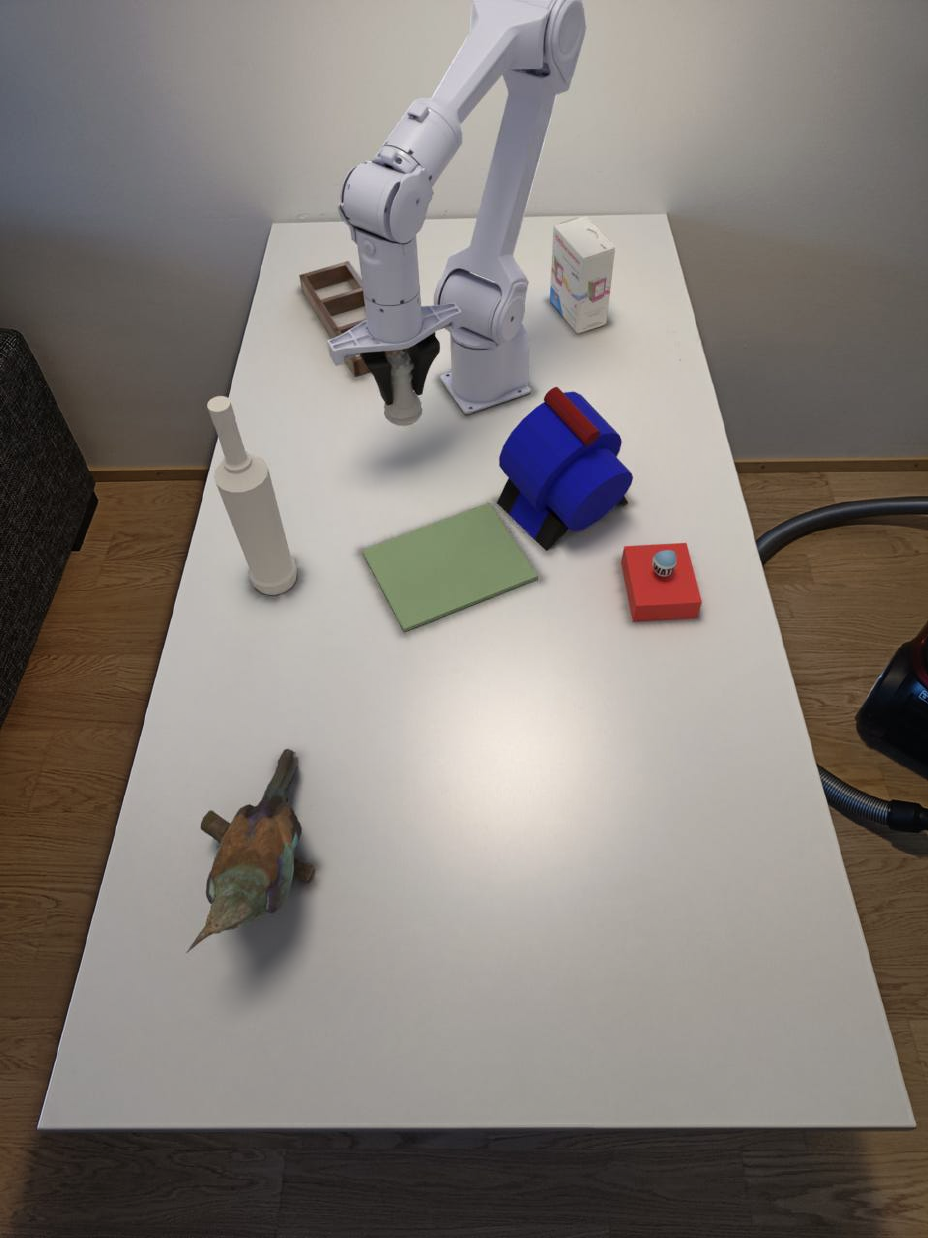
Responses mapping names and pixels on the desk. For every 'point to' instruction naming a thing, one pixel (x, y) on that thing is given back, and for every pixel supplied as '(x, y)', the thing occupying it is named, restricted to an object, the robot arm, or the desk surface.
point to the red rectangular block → (660, 582)
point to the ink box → (581, 273)
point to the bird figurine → (254, 856)
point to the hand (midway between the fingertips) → (401, 394)
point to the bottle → (251, 505)
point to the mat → (448, 566)
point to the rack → (337, 303)
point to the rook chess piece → (402, 392)
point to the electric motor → (562, 468)
